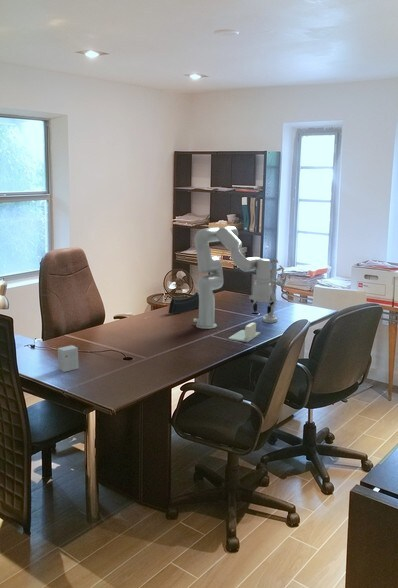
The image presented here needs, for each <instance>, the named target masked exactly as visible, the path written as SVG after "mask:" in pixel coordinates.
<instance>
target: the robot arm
mask: <svg viewBox="0 0 398 588" xmlns="http://www.w3.org/2000/svg"><path fill="white" fill-rule="evenodd" d="M193 240H194V246H195V250H196V251H195V252H196V259H197V269H198V271H199V272H200V273H202V274H206V275H202V276H200V277H199V279H198V280H197V289H198V294H199V307H198V318H197V317H196V318H195V317H194V318H193V320H192V321H193V322H194V323H196V324H195V326H196V328H199V329H203V330H208V329H209V330H213V329H215V328H217V326H218V325H217V323H216V322H215V305H216V304H215V303H216V302H215V293H214V292H213V291H215V290H219V289H221V288H222V287H223V285H224V272H223V263H222V261H221V259H220V258H219V257H218V256H215V255H212V251H211V247H210V245H209V244H208V243H215V242H216V243H217V242H220V243H221V244H222V245H223V246H224V247H225V248H226V249H227V250H228V251H229V252H230V257H231V260H232V263H234V264H235V266H237V268H238V269H239V270H241V271H243V272H245V273H247V272H253V271H256V274H255V275H256V277H254V278H253V281H254V282H255V283H254V285H253V292H252V294H251V295H250V296H248V299H249V300H250V303H252V305H253V306H252V307H253V308H252V309H253V312H257V311H258V304H257V303H258V302H262V303H266V304H267V309H266V310H267V311H266V312H267V313H270V312H271V306H272V305H273V304H274V303H275V302H277V297H276V298H275V297H274V296H272V288H271V284H270V274H271V273H270V270H271V269H270V268H271V265H270V261H271V260H270V259H268V258H261V257H258V256H252V257H245V255H244V254H242V252H241V251H240V250H241V249H242V246H243V242H242V241H241V240H240V239H239V231H238V229H237V228H236V227H235V226H232V225H228V226H227V225H226V226H217V227H207V228H201V229H199V230H198V231H197V232H196V234H195V235H194V239H193ZM207 273H208V274H207ZM272 299H273V301H272ZM271 301H272V302H271ZM275 304H276V303H275ZM267 313H266V314H267Z"/></svg>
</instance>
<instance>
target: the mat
mask: <svg viewBox="0 0 398 588" xmlns="http://www.w3.org/2000/svg"><path fill="white" fill-rule="evenodd" d="M261 334H262V332H260V331H256V335H254V336H253V337H251V338H250V339H247V338H245V329H241V330H239V331H238V332H235V333H234V334H232V335H230V336H229V337H228V338H227V339H228V340H231V341H236V342H237V341H238V342H243V343H244V342H245V343H249V342H251V341H252V340H254V339H255V338H256V337H258V336H260V335H261Z"/></svg>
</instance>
